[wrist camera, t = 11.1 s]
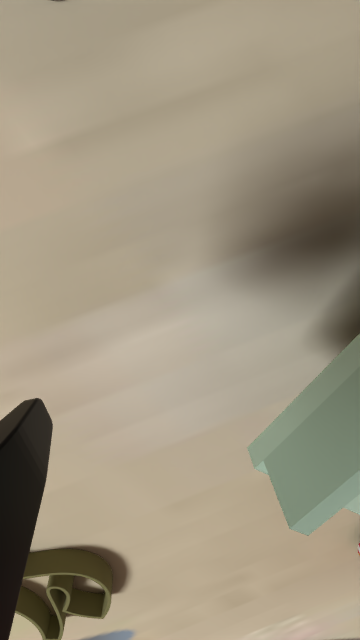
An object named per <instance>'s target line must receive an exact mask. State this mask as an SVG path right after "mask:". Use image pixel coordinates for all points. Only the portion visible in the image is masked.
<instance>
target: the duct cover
mask: <svg viewBox="0 0 360 640" xmlns="http://www.w3.org/2000/svg"><path fill="white" fill-rule="evenodd" d="M247 449H248V451H249V454H250V457H251V460H252V463H253V466H254V469H256V470H258V471H261V472H263V473H265V474H268V475H269V477H270V479H271V482H272V485H273V487H274V490H275V492H276V495H277V497H278V500H279V503H280V505H281V508H282V510H283V513H284V516H285V518H286V521H287V523H288V526H289V529H292V530H294V531H297V532H300V533H302V534H305V535H310V534H311V533H312V532H313V531H315V530H316V529H317V528H318V527H320V526H321V525H322V524H323V523H324V522H326V521H327V520H328V519H329V518H331V517H332V516H333V515H334V514H336V513H337V512H338V511H339V510H341V509H342V508H345V509H348V510H350V511H352V512H355V513H357V514H359V515H360V333H359V334H358V335H357V336H356V337H355V338H354V339H353V340H352V341H351V343H350V344H349V345H348V346H347V347H346V348H345V349H344V350H343V351H342V352H341V353H340V354H339V355H338V356H337V357H336V358H335V359H334V360H333V361H332V362H331V363H330V364H329V365H328V366H327V367H326V368H325V369H324V370H323V371H322V372H321V373H320V374H319V375H318V376H317V377H316V378H315V379H314V380H313V381H312V382H311V383H310V384H309V385H308V386H307V387H306V388H305V389H304V390H303V391H302V392H301V393H300V394H299V395H298V396H297V398H296V399H295V400H294V401H293V402H292V403H291V404H290V405H289V406H288V407H287V408H286V409H285V410H284V411H283V412H282V413H281V414H280V415H279V416H278V417H277V418H276V419H275V420H274V421H273V422H272V423H271V424H270V425H269V426H268V427H267V428H266V429H265V430H264V431H263V432H262V433H261V434H260V435H259V436H258V437H257V438H256V439H255V440H254V441H253V442H252V443H251V444H250V445H249V446H248V447H247Z"/></svg>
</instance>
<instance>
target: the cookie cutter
mask: <svg viewBox="0 0 360 640" xmlns="http://www.w3.org/2000/svg"><path fill="white" fill-rule="evenodd" d="M49 575H50V576H49ZM74 575H76V576H81V577H85V578H88V579H91V580H93V581H95V582H96V583H98V584H99V585H100V586H101V587H102V588H103V589H104V590H105V592H104V594H99V593H91V592H85V591H81V590H77V589H74V588H72V586H73V580H74ZM41 576H49V581H48V585H47V590H46V594H47V596H48V598H49V600H50V602H51V604H52V606H53V608H54V610H55V612H56V615H57V616H53V615H51V614H50V611H49V609H48V607H47V605H46V604H45V602H44V601H43V600H42V599H41V598H40V597H39V596H38V595H36V594H35V593H34V592H32V591H31V590H29V589H27V588H25V587H23V586H21V589H20V593H19V597H18V601H17V606H16V610H15V613H17V614H19V615H21V616H23V617H25V618H26V619H28V620H29V621H30V622H32V623H33V624H34V625H35V626H36V627H37V629H38V630H39V632H40V633H41V635H42V638H43V640H61V638H62V635H63V630H64V624H65V619H66V613H68V614H72V615H76V616H81V617H87V618H98V619H103V618H104V617H105V616H106V614H107V612H108V610H109V608H110V604H111V594H112V581H113V574H112V570H111V568H110V566H109V564H108V563H107V562H106V561H105V560H104V559H103V558H101V557H100V556H98V555H96V554H94V553H91V552H88V551H84V550H79V549H54V550H45V551H39V552H32V553H29V555H28V559H27V564H26V568H25V572H24V576H23V579H27V578H34V577H41Z"/></svg>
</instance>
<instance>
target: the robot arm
mask: <svg viewBox="0 0 360 640" xmlns="http://www.w3.org/2000/svg"><path fill="white" fill-rule="evenodd" d="M53 1H54V0H53ZM52 429H53V424H52V420H51V418H50V416H49V413H48V411H47V409H46V407H45V405H44V403H43V401H42V400H41V399H39V398H35V399H30V400H25V401H23V402H22V403H21V404H20V405H18V406H17V407H16V408H15V409H14V410H12V411H11V412H10V413H9V414H8V415H6V416H5V417H4V418H3V419H2V420H1V421H0V640H8V639H9V635H10V631H11V627H12V623H13V618H14V614H15V610H16V606H17V601H18V597H19V593H20V589H21V585H22V580H23V576H24V572H25V568H26V564H27V559H28V555H29V551H30V547H31V542H32V538H33V534H34V530H35V526H36V521H37V517H38V513H39V509H40V505H41V500H42V496H43V492H44V487H45V483H46V477H47V470H48V462H49V454H50V446H51V438H52Z"/></svg>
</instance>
